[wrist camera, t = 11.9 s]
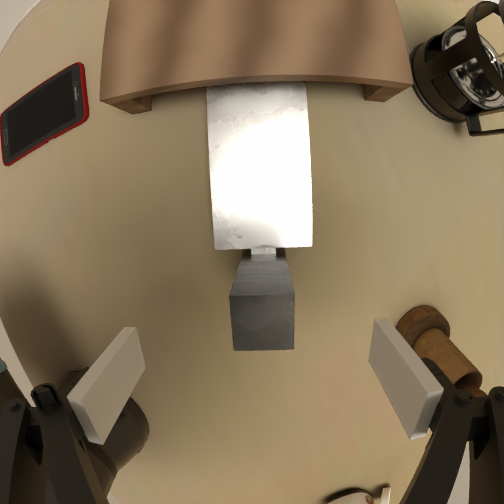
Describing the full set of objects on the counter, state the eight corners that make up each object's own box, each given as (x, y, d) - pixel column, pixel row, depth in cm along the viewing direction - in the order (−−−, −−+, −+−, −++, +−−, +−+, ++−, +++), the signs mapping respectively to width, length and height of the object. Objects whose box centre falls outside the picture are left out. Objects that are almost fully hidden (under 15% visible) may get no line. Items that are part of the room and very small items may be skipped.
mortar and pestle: (384, 326, 29) (465, 448, 12) (433, 294, 28) (538, 387, 11) (402, 365, 30) (468, 479, 13) (446, 336, 29) (530, 431, 12)
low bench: (132, 114, 25) (99, 100, 19) (137, 15, 22) (112, -12, 16) (384, 101, 24) (413, 84, 18) (366, 2, 21) (385, -29, 15)
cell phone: (3, 115, 26) (-2, 114, 25) (85, 61, 24) (81, 58, 23) (8, 168, 27) (3, 168, 26) (92, 120, 26) (87, 118, 25)
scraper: (223, 283, 29) (196, 350, 17) (212, 83, 24) (176, 25, 13) (307, 280, 28) (331, 346, 17) (300, 78, 24) (321, 16, 12)
